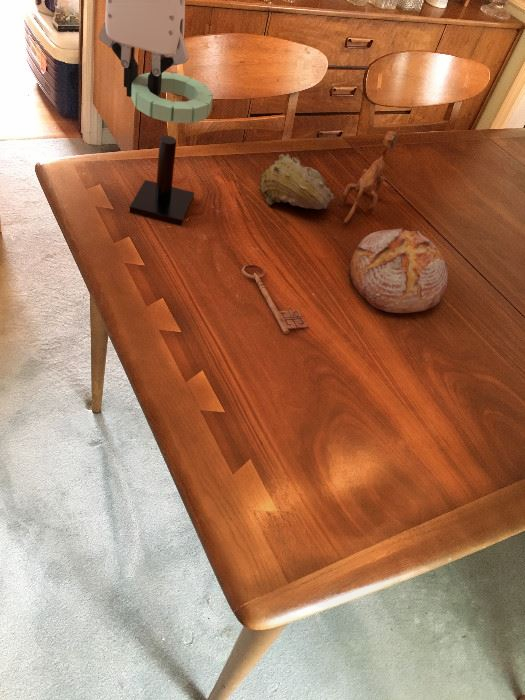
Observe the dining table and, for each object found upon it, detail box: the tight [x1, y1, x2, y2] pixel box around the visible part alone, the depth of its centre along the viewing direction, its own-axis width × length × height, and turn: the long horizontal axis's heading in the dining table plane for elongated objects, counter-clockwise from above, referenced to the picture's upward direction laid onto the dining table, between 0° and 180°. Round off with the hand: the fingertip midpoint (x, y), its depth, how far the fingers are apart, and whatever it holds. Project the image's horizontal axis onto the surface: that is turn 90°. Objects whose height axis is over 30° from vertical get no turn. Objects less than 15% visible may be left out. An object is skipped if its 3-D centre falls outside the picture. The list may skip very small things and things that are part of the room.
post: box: [129, 135, 195, 226], centre depth 92 cm, size 9×9×12 cm
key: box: [241, 264, 308, 335], centre depth 86 cm, size 6×1×15 cm
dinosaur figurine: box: [342, 127, 401, 224], centre depth 105 cm, size 18×7×14 cm, turn 154°
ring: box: [130, 71, 214, 124], centre depth 83 cm, size 12×12×2 cm
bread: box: [349, 227, 449, 314], centre depth 92 cm, size 16×20×10 cm
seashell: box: [258, 153, 335, 211], centre depth 103 cm, size 11×14×10 cm
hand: (142, 95), depth 83 cm, fingers closed on ring, 2 cm apart
